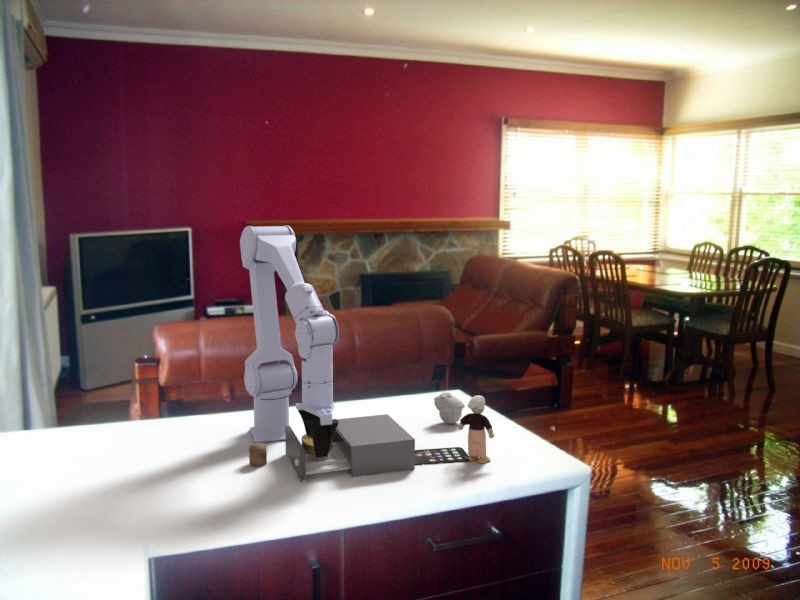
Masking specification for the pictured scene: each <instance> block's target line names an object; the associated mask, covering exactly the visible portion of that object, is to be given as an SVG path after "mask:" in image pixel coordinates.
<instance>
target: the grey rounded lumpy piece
mask: <svg viewBox="0 0 800 600" xmlns="http://www.w3.org/2000/svg"><path fill="white" fill-rule="evenodd" d="M433 401H434V402H433V403H434V406H435V408H436V409H437V410H438V411H439V417H440V419H441V421H442V422H444V423H445V424H448V425H454V424H456V423H458V422H460V420H461V419H462V415H463V413H462V411H463V409H464V408H465V407H466V406H465V405H466V404H465V403H464V402H463V401H462V400H461V399H459V398H457V397H456V396H454V395H453V394H452V393H451V392H446V391H445V392H441V393H440V394H439V395H437V396H435V397H434V398H433Z"/></svg>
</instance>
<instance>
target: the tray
mask: <svg viewBox="0 0 800 600" xmlns="http://www.w3.org/2000/svg"><path fill="white" fill-rule="evenodd" d="M284 441H285V443H284V444H285V445H284V446H285V454H286V456H287V458H288V460H289V461H290V465H292V467H293V470H294V471H295V473H296V476H297V477H298V479H299V481H300V482H306V480H307V477H306V475H307V476H308V475H313V474H321V473H322V474H323V473H331V472H338V471H347V469H351V449H350V447H349V446H348V445H347V444H346V442H345V441H337V442H332V450H331V451H330V452H329V453H328V456H327V457H318V458H317V457H316V455H311V454H306V452H305V450H304V448H303V446H302V442H300V440H299V438H298V437H297V436H296V433H295V431H294V430H293V428H292V427H291V425H289V426H285V440H284Z"/></svg>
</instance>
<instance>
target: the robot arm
mask: <svg viewBox="0 0 800 600" xmlns="http://www.w3.org/2000/svg"><path fill="white" fill-rule="evenodd" d="M296 246H297V238H296V234H295V231H294V230H293V228H292V227H291V226H290V225H282V226H280V225H278V226H277V225H276V226H275V225H274V226H273V225H272V226H267V225H265V226H252V225H247V226H245V227H244V228H243V230H242V231H241V235H240V239H239V248H240V255H241V262H242V268H245V269H247V270H249V280H250V289H251V290H250V291H251V302H252V303H251V304H252V312H253V320H254V321H253V322H254V330H255V331H254V332H255V341H256V342H255V343H256V348H255V350H254V351H253V352H252V353H251V354H250V355H249V356H248V357H247V358H246V359H245V361H244V376H243V381H244V386H245V390H246V391H247V393H249V395H250V396H252V397H253V424H254V425H253V426H250V427H249V432H250V433H251V436H252V439H253V441H254V443H266V442H267V443H268V442H277V441H285V426H290V404H289V403H290V402H289V400H290V399H289V396H290V395H292V391H293V390H294V389H295V388H296V387H297V384H298V372H297V367H295V363H294V357H293V355H292V354H291V353H290V352H289V351H288V350H285V349H284V348H283V347H282V342H281V332H280V331H281V330H280V323H279V322H280V321H279V311H278V304H277V303H278V300H277V292H276V283H275V273H276V272H277V275H278V277H279V278H280V280H281V282H282V283H283V285H284V287H285V288H286V293H285V295H284V299H285V303H286V304H287V307H288V309H289V311H290V314H291V315H292V318H293V320H294V322H295V325H296V326H295V330H294V335H295V340H296V343H297V348H298V355H299V357H301V402H300V403H299V402H298V403H295V409H296V410H297V412H298V414H299V415H300V417H301V420H302V423H303V426H304V429H305V434H308V433H311V434H312V438H313V445H314V451H315V455H316V457H317V458H318V457H327V456H328V453H329V449H330V444H331V439H332V436H333V434H334V431H335V429H336V428H337V426H338V420H337V419H336V418H334V419H333V411H334V408H335V402H334V386H333V385H334V382H333V381H334V369H333V368H334V363H333V362H334V361H333V359H334V358H333V355H334V354H333V350H334V348H333V347H334V345H336V344H337V342H338V340H339V335H340V328H339V324H338V321H337V319H336V316H334V315H333V314H331V313H330V312H329V311H328V310H327V309H326V310H325V309H324V307H323V305H322V303H321V301H320V300H319V297H318V294H317V292H316V290H315V289H314V286H313V285H312V284H310V283H305V280H304V277H303V275H302V272H301V269H300V267H299V264H298V261H297V258H296V256H295V255H296V254H295V253H296V249H297V247H296ZM277 361H278V362H277ZM271 362H273V363H271ZM263 363H266V364H263Z"/></svg>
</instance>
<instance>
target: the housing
mask: <svg viewBox="0 0 800 600" xmlns="http://www.w3.org/2000/svg"><path fill="white" fill-rule="evenodd" d="M337 420H338V426H337V428H336V429H335V431H334V434H333V436H332V442H337V441H345V442H346V444H347V445H348V446H349V447H350V449H351V469H347V470H346V471H347V473H349V475H350V477H351V478H357V477H358V478H359V477H365V476H373V475H374V476H375V475H380V474H381V475H382V474H390V473H396V472H406V471H411V470H412V469H413V470H415V468H416V465H415V450H416V439H415V438H414V437H413V436H412V435H411V434H410V433H409V432H408V431H406V429H404V428H403V427H402V426H401V425H400V424H399V423H398V422H397V421H396V420H395V419H394V418H392V417H391V416H390V415H389V414H387V413H385V414H378V415H377V414H376V415H368V416H367V415H365V416H358V417H357V416H355V417H348V418H346V417H345V418H338V419H337Z"/></svg>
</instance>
